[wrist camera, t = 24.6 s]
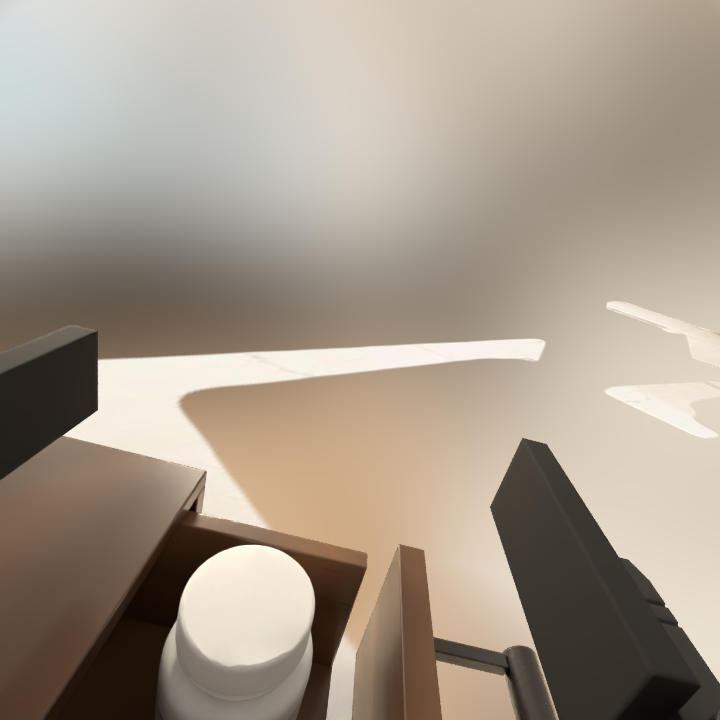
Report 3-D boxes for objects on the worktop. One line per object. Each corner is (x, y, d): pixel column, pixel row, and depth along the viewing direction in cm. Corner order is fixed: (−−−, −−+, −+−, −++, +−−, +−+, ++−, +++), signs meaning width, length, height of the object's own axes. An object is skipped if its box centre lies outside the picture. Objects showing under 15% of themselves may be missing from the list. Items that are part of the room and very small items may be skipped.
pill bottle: (281, 673, 18) (321, 535, 15) (285, 827, 14) (341, 680, 11) (165, 682, 17) (182, 532, 14) (131, 856, 13) (143, 696, 9)
